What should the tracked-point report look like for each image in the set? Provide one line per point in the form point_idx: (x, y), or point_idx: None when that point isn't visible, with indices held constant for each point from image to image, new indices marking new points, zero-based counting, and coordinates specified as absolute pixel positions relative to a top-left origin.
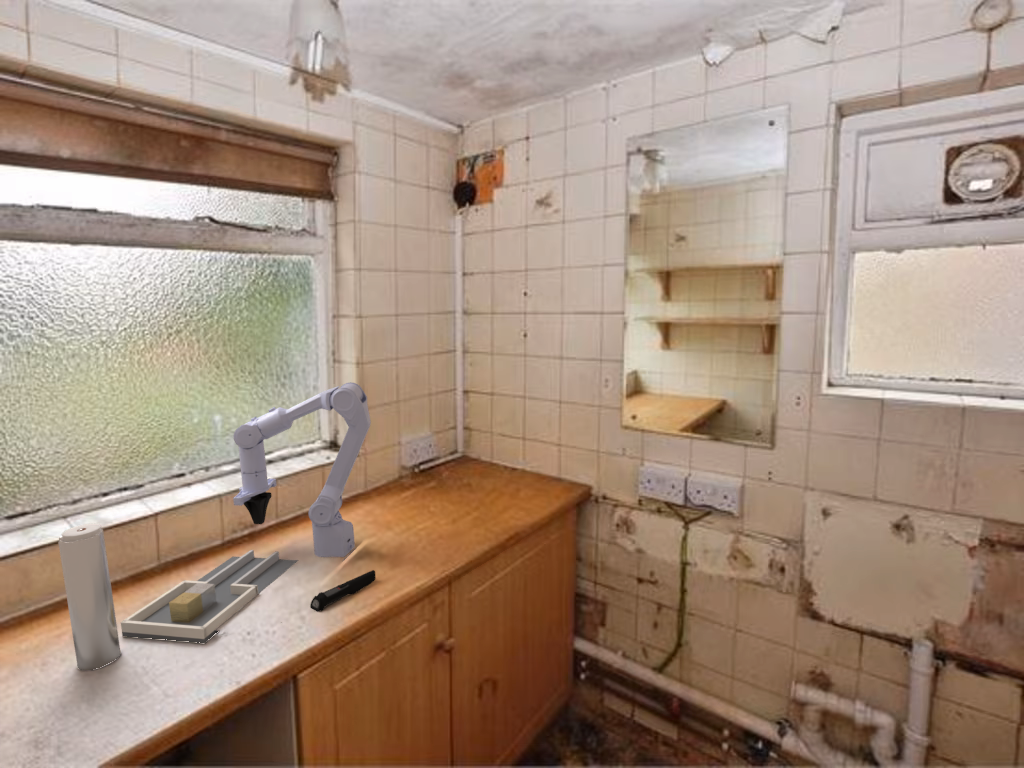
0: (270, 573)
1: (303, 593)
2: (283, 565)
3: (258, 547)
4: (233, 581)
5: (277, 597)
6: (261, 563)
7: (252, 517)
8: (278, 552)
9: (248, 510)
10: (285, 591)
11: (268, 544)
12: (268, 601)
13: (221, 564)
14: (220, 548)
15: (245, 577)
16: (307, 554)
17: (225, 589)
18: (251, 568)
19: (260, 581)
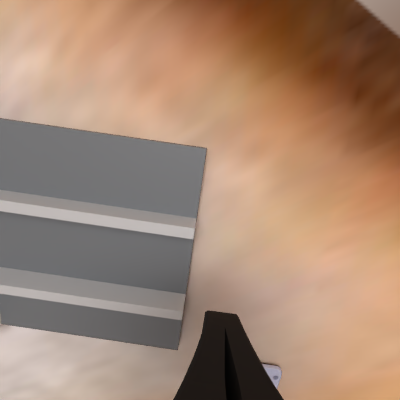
0: (99, 312)
1: (47, 387)
2: (145, 326)
3: (304, 186)
4: (45, 238)
5: (22, 348)
6: (97, 304)
7: (198, 346)
8: (181, 318)
9: (176, 396)
10: (48, 354)
11: (325, 209)
12: (3, 338)
13: (144, 141)
14: (317, 33)
15: (16, 293)
16: None
17: (1, 239)
18: (123, 251)
19: (56, 305)
